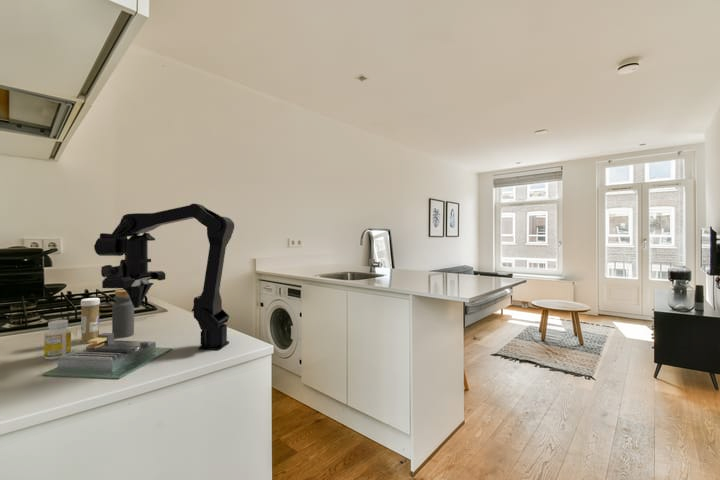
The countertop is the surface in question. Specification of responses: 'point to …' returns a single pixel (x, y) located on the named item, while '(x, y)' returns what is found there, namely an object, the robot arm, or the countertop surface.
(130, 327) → the bottle
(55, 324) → the supplement bottle
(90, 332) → the sprinkles bottle
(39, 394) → the countertop surface
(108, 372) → the heatsink
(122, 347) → the grey and orange bar
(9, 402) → the countertop surface
